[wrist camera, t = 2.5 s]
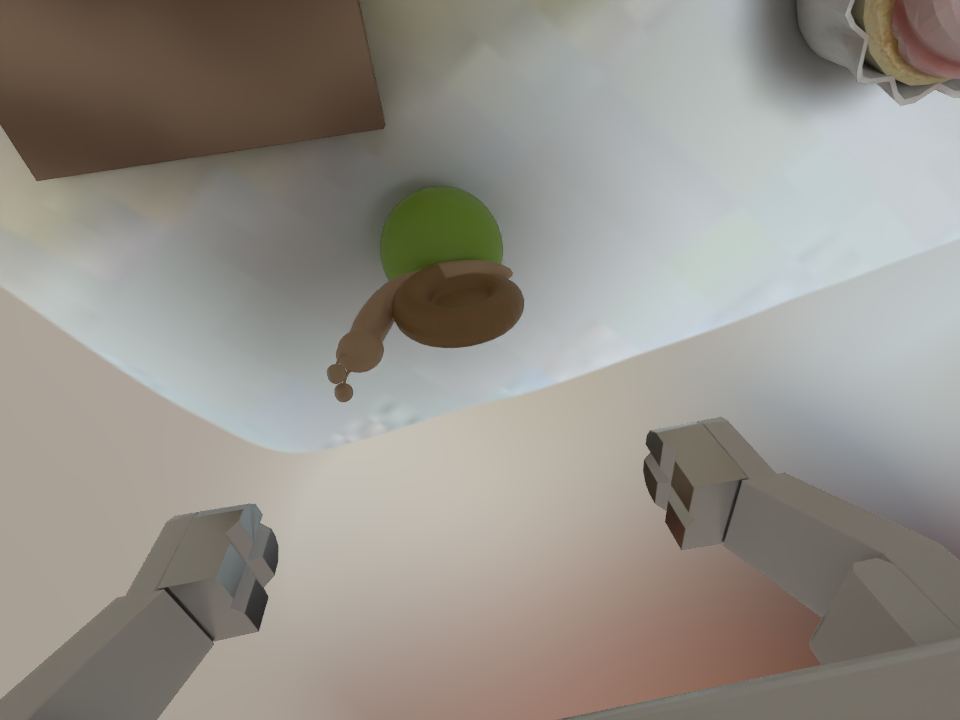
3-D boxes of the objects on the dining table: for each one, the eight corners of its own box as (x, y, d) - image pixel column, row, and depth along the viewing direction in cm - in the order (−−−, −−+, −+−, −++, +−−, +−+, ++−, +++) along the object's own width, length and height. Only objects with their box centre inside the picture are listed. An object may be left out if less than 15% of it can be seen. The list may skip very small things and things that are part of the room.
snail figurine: (349, 188, 21) (292, 303, 11) (485, 165, 21) (553, 257, 11) (379, 294, 24) (356, 459, 14) (498, 273, 24) (559, 421, 14)
